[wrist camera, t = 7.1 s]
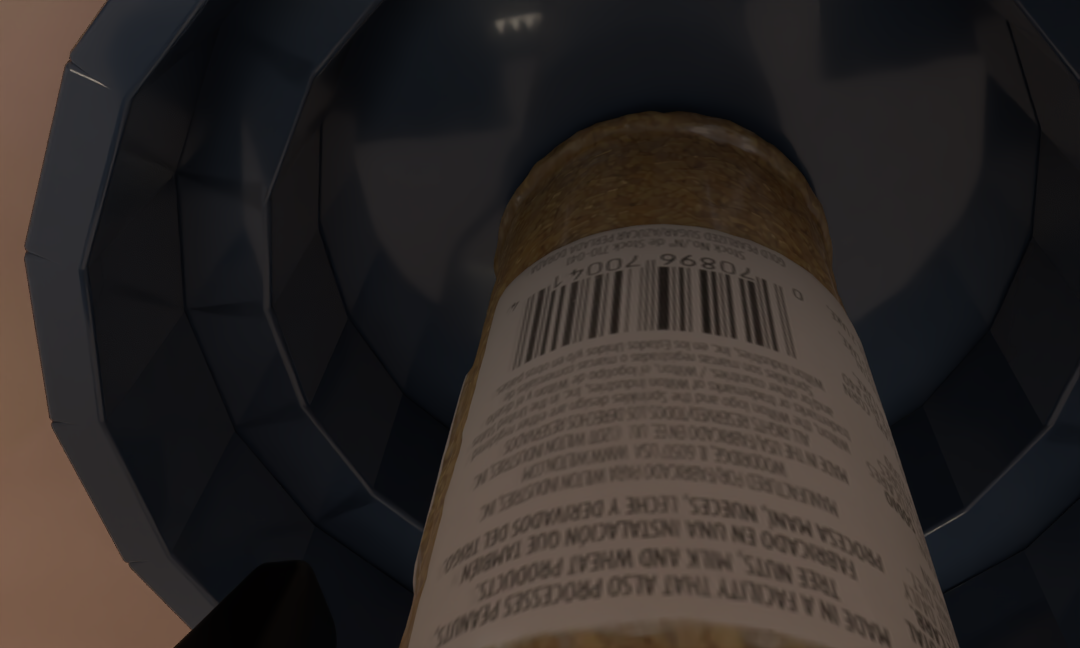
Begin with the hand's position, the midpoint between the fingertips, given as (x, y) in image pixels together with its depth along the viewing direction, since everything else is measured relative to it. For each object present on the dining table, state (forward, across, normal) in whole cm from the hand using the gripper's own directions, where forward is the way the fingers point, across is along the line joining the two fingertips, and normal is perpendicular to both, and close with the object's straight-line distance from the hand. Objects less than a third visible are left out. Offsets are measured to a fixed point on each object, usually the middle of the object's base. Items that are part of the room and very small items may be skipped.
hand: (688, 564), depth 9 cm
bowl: (+7, 0, 0) cm, 7 cm away
